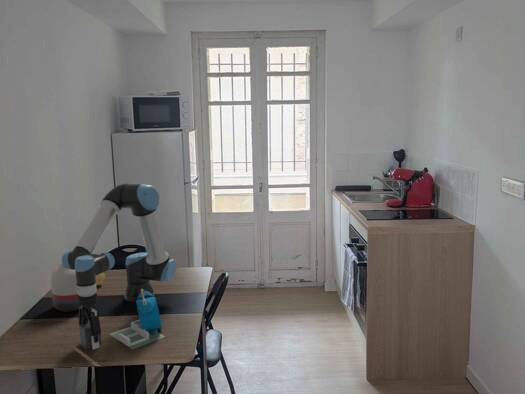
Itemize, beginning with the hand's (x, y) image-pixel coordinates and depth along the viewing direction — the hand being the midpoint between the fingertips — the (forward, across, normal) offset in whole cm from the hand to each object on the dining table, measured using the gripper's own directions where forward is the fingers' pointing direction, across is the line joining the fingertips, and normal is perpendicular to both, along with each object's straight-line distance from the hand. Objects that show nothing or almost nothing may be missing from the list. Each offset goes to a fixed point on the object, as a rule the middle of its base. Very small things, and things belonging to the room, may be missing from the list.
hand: (91, 345), depth 213 cm
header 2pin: (0, +1, +23) cm, 23 cm away
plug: (+1, 0, 0) cm, 1 cm away
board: (+1, +6, +18) cm, 19 cm away
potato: (+1, -69, +33) cm, 77 cm away
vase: (+1, -48, +13) cm, 50 cm away
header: (0, +9, +15) cm, 17 cm away
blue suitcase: (+1, +5, +25) cm, 26 cm away
